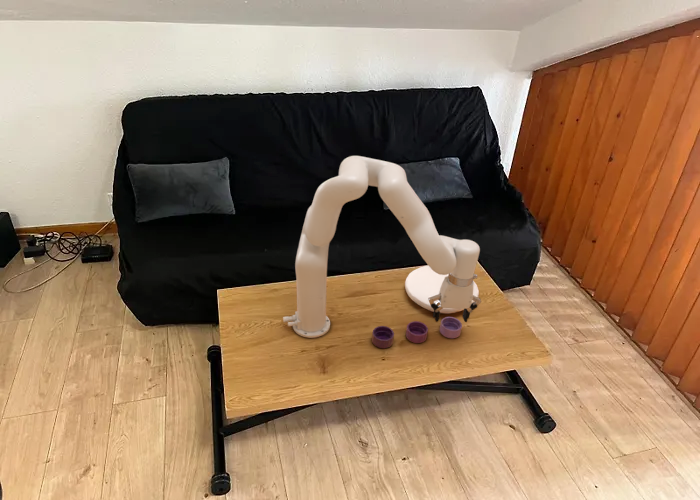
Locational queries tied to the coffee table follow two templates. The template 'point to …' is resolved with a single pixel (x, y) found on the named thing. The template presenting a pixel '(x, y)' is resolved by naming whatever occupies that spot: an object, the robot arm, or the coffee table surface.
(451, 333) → the lilac dish
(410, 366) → the coffee table surface
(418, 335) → the plum dish
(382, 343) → the aubergine dish
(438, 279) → the plate
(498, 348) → the coffee table surface
